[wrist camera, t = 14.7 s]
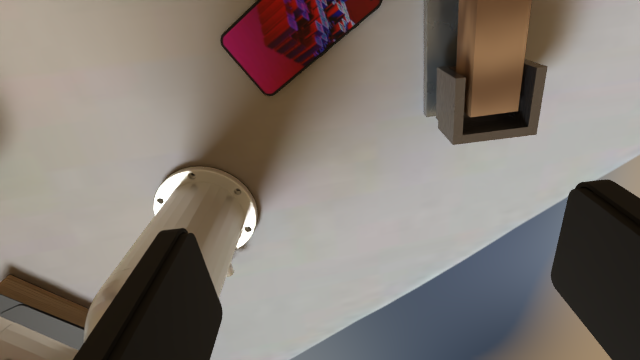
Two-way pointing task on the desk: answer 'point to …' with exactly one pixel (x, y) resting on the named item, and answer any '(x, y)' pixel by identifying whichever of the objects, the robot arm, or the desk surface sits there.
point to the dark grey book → (42, 311)
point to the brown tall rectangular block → (492, 53)
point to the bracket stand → (449, 86)
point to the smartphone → (290, 36)
